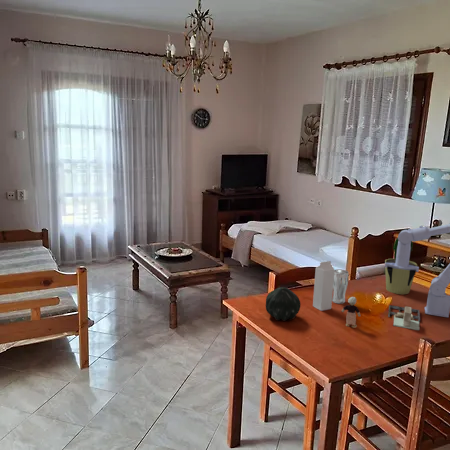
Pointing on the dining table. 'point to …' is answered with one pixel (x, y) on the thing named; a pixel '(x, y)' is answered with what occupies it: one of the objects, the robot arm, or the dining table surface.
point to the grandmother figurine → (351, 312)
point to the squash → (282, 304)
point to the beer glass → (340, 286)
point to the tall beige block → (407, 316)
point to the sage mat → (413, 325)
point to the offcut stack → (402, 316)
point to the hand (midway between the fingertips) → (399, 283)
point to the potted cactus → (398, 275)
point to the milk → (323, 286)
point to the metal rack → (403, 309)
